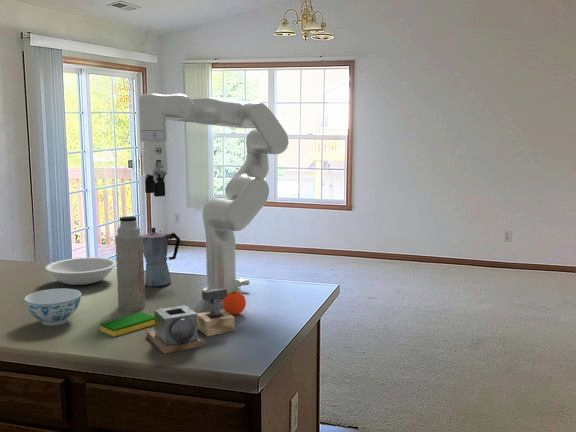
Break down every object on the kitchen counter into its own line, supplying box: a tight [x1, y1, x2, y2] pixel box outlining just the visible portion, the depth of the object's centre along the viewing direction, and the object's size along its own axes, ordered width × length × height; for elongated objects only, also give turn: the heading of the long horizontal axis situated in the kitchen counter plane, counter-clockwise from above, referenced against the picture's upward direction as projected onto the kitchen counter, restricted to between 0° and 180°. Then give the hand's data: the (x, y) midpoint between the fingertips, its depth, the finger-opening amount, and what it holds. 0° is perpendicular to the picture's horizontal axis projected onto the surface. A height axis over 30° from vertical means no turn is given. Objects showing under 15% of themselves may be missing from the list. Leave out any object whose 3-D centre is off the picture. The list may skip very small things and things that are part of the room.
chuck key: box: [201, 287, 227, 319], centre depth 168 cm, size 6×3×11 cm, turn 120°
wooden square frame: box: [197, 308, 236, 337], centre depth 168 cm, size 8×8×4 cm
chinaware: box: [24, 288, 82, 327], centre depth 174 cm, size 15×15×8 cm
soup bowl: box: [44, 256, 117, 286], centre depth 217 cm, size 24×24×7 cm
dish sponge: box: [99, 312, 155, 337], centre depth 170 cm, size 7×14×2 cm, turn 138°
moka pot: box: [142, 227, 181, 287], centre depth 214 cm, size 10×15×20 cm, turn 95°
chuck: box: [153, 304, 199, 346], centre depth 160 cm, size 19×8×7 cm, turn 30°
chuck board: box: [146, 329, 203, 354], centre depth 159 cm, size 10×14×2 cm
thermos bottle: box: [115, 216, 146, 312], centre depth 187 cm, size 8×8×28 cm
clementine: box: [222, 291, 247, 316], centre depth 181 cm, size 8×7×7 cm
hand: (155, 194), depth 183 cm, fingers open, 9 cm apart
